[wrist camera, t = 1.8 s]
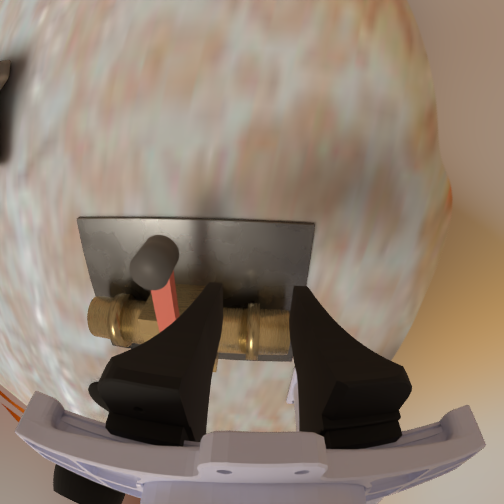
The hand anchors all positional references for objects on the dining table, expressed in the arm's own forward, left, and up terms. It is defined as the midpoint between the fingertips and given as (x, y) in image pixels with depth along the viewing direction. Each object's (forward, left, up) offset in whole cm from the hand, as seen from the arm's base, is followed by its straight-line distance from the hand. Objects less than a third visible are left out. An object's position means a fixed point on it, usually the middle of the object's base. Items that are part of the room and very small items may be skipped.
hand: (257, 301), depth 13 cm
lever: (+6, +5, -4) cm, 9 cm away
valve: (+6, +9, -10) cm, 15 cm away
